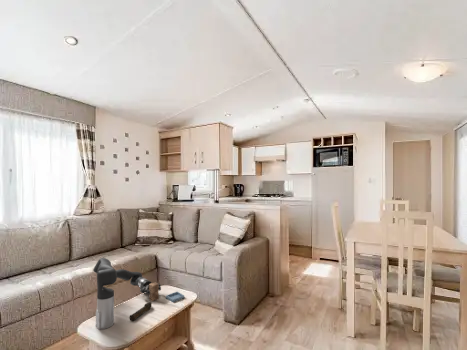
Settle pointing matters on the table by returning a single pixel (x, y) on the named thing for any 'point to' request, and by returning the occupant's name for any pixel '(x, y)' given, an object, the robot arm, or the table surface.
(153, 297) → the walnut block
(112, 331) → the table surface
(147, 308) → the brown rough rod
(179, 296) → the tray
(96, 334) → the table surface
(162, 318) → the table surface
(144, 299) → the table surface
